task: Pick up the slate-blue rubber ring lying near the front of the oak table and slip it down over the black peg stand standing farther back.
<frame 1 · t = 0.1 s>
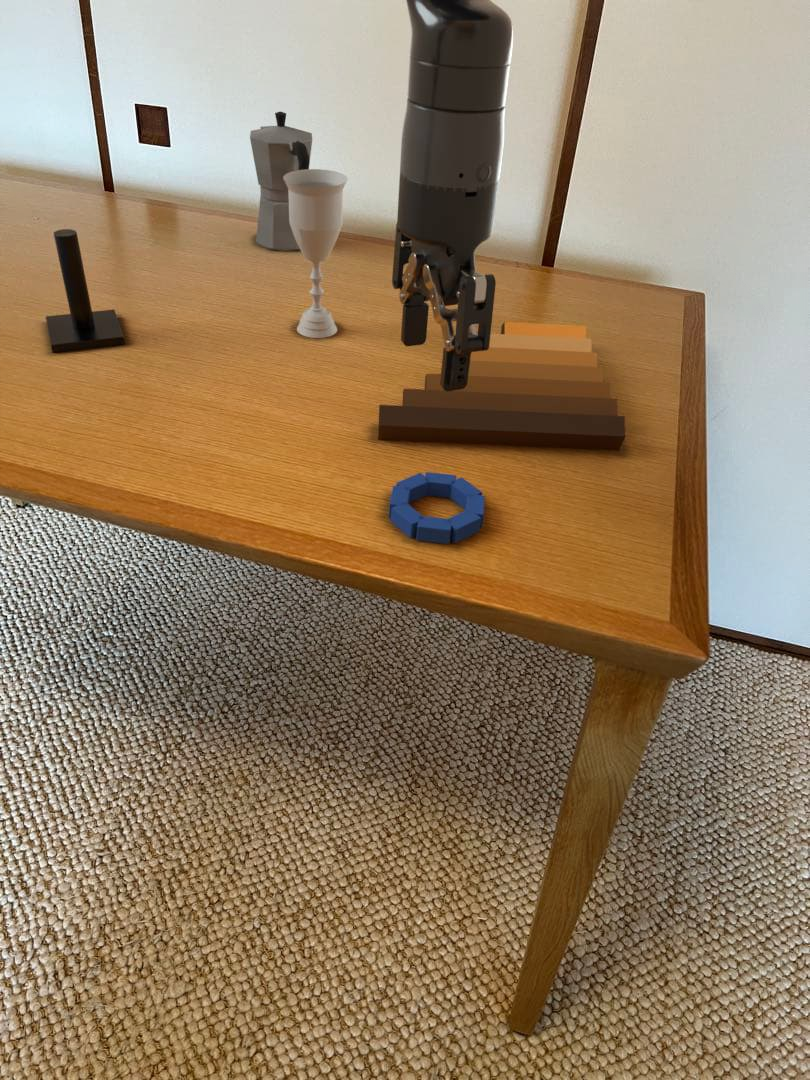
hand: (432, 365, 71), 12 cm above the table, tool pointing down, fingers open, 8 cm apart
chalice: (317, 330, 102), on the table
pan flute: (488, 390, 93), on the table
ring: (436, 513, 74), on the table
coffeepot: (287, 244, 125), on the table
black peg stand: (85, 334, 97), on the table
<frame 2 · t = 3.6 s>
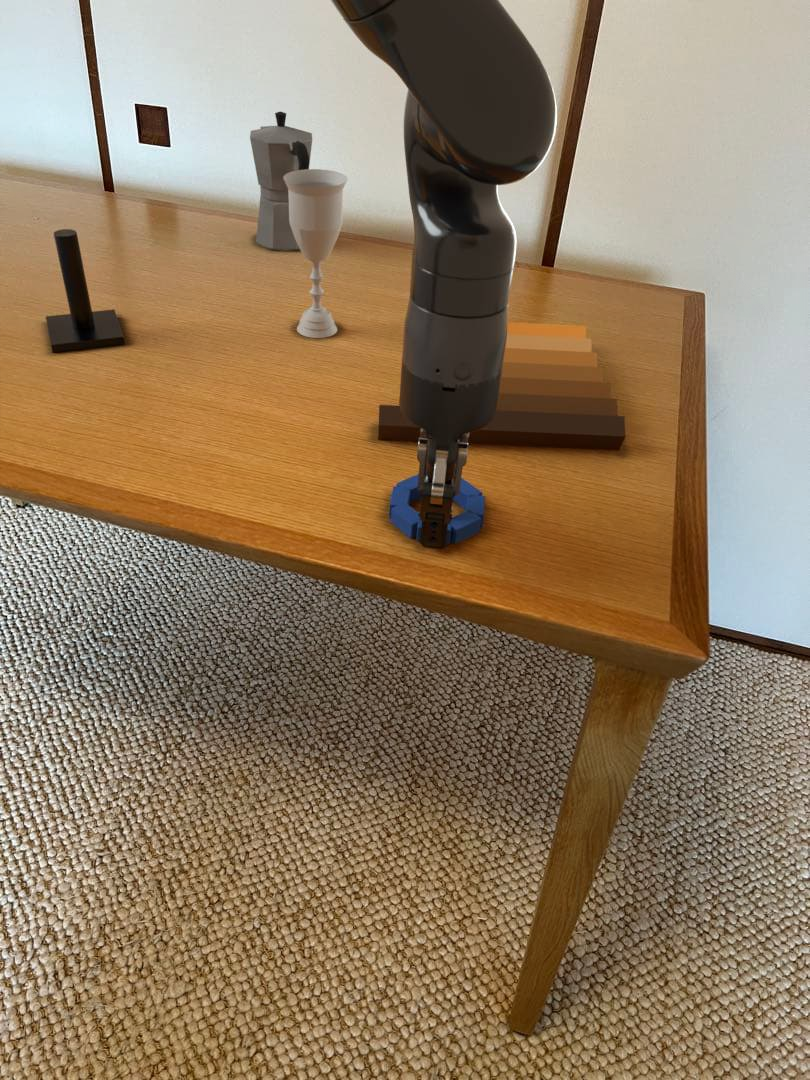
hand: (433, 537, 71), 0 cm above the table, tool pointing down, fingers closed on ring, 1 cm apart
ring: (436, 514, 74), on the table, touching gripper
everything else where it was.
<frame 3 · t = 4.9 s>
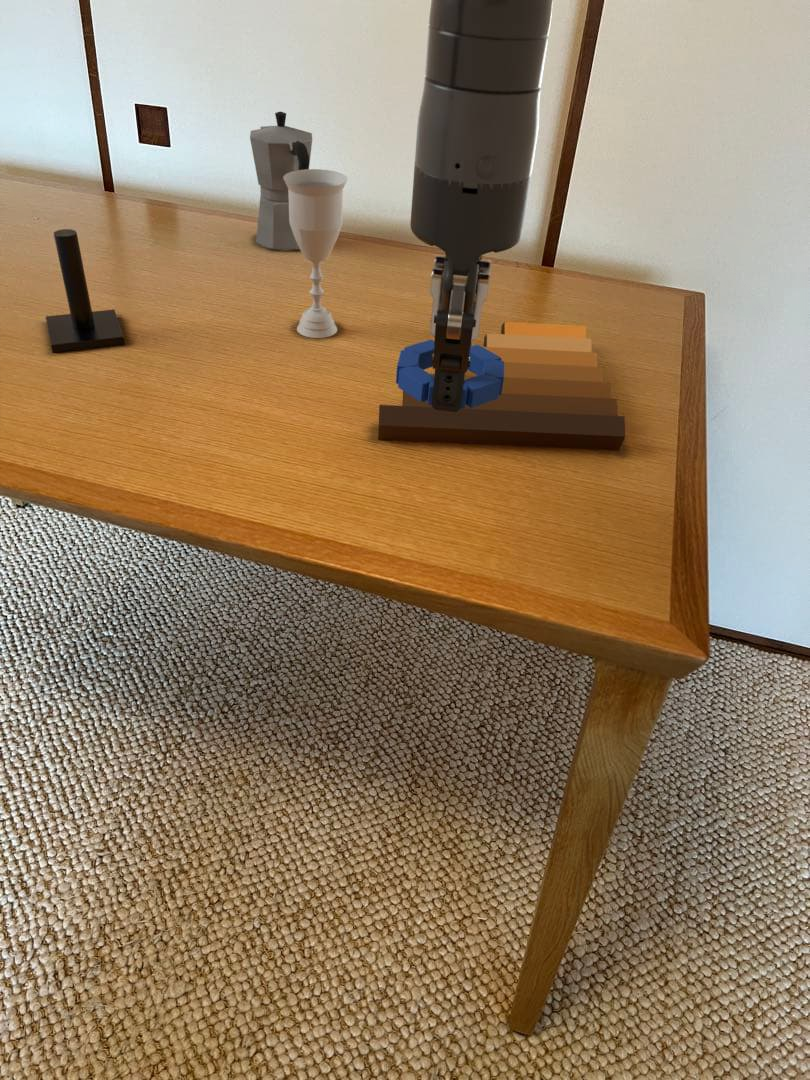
hand: (446, 401, 63), 14 cm above the table, tool pointing down, fingers closed on ring
ring: (449, 381, 65), point 13 cm above the table, touching gripper
everything else where it was.
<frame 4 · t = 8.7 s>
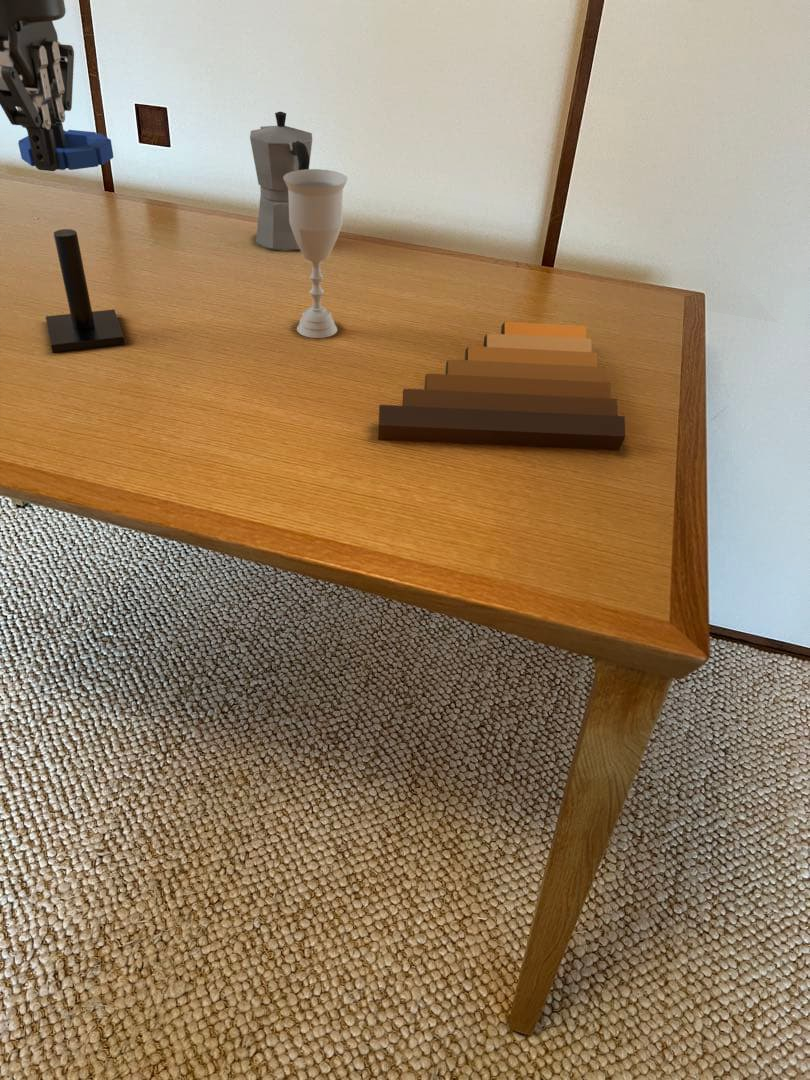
hand: (52, 165, 81), 20 cm above the table, tool pointing down, fingers closed on ring, 1 cm apart
ring: (68, 157, 83), point 20 cm above the table, touching gripper
everything else where it was.
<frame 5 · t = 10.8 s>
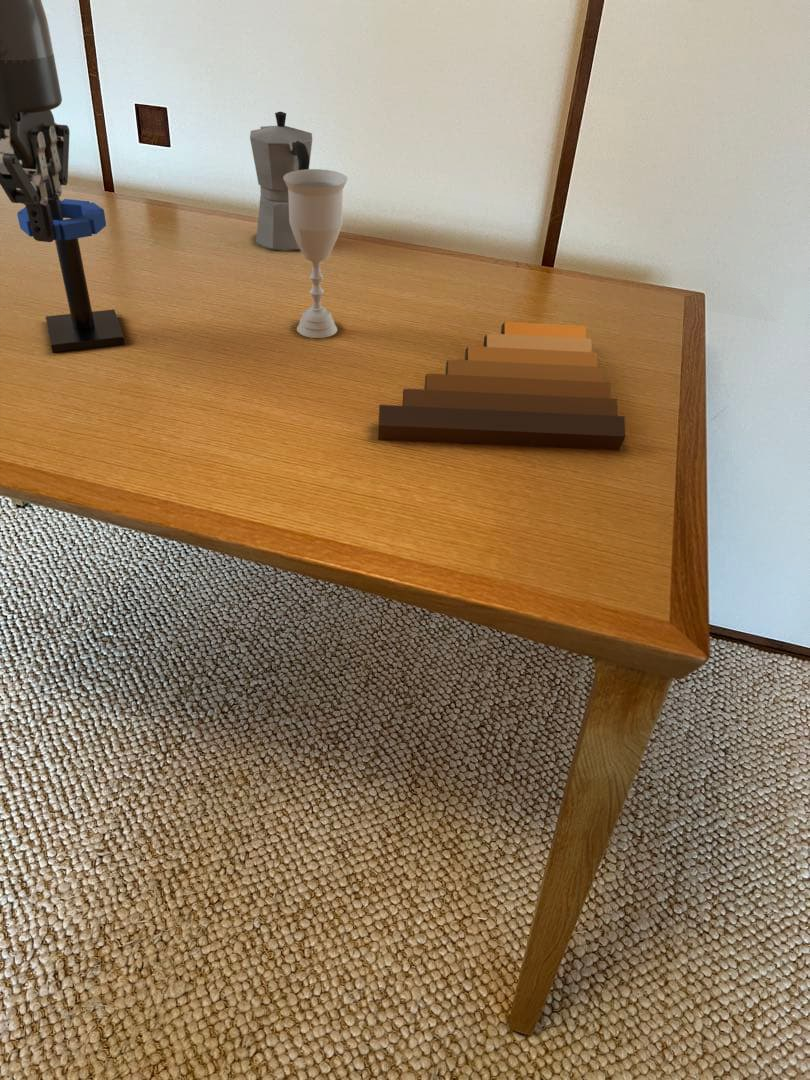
hand: (49, 236, 86), 13 cm above the table, tool pointing down, fingers closed on ring
ring: (64, 226, 89), point 13 cm above the table, touching gripper
everything else where it was.
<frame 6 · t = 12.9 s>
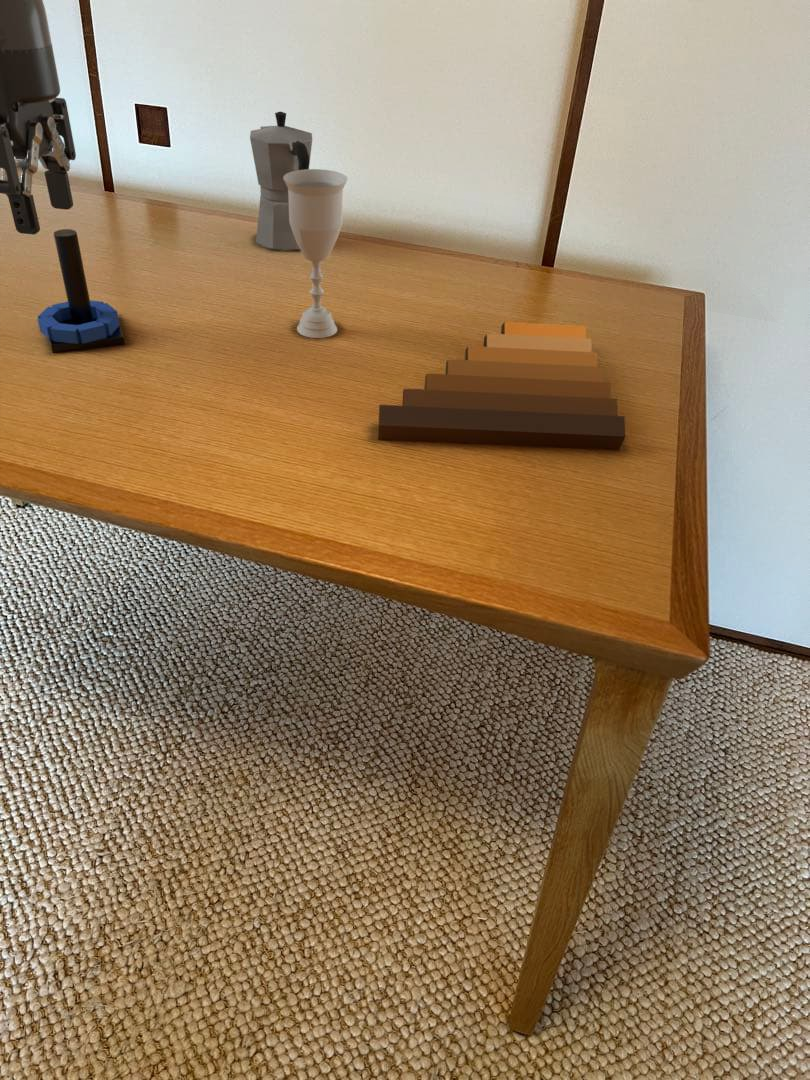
hand: (46, 219, 85), 14 cm above the table, tool pointing down, fingers open, 7 cm apart
ring: (80, 327, 96), point 1 cm above the table, touching black peg stand
everything else where it was.
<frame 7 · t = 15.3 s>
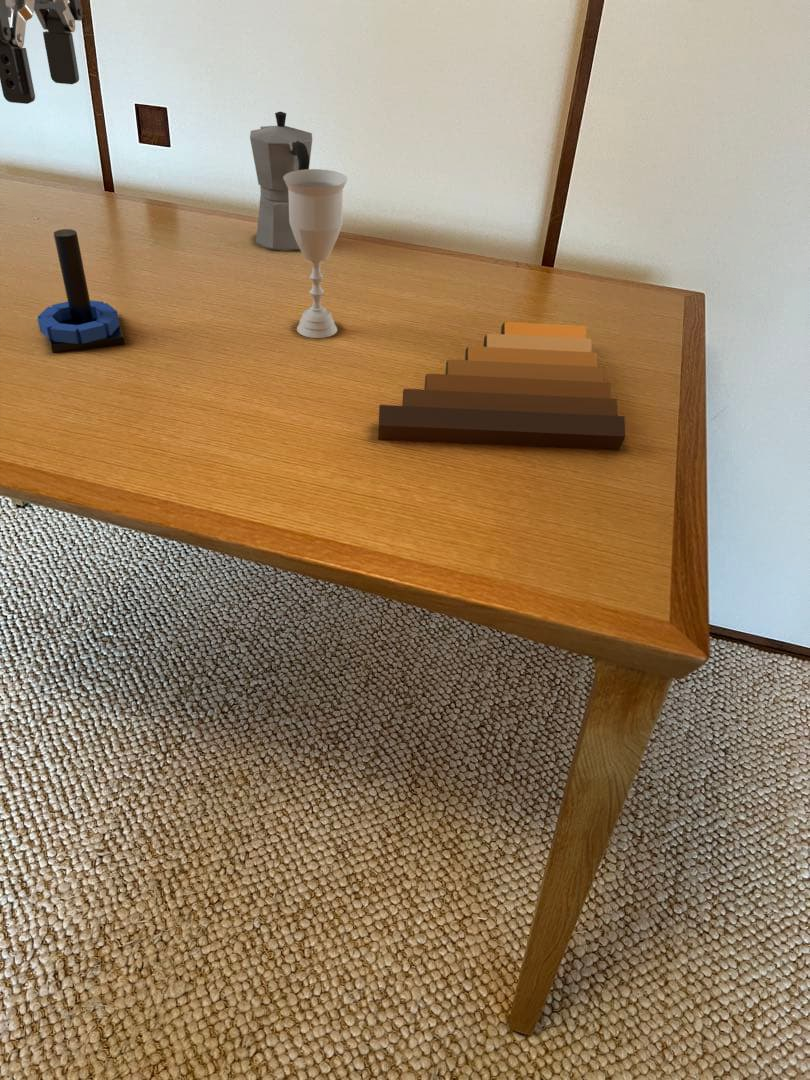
hand: (44, 92, 67), 29 cm above the table, tool pointing down, fingers open, 8 cm apart
nothing on the table moved.
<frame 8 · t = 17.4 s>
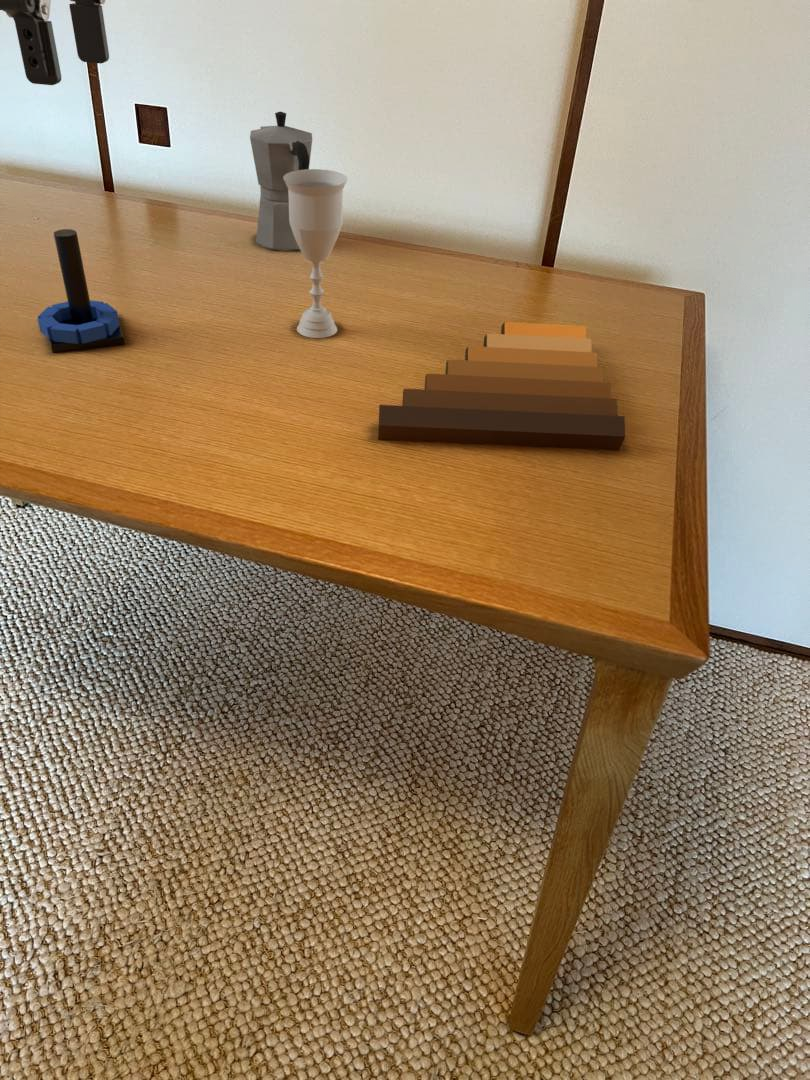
hand: (71, 72, 59), 32 cm above the table, tool pointing down, fingers open, 8 cm apart
nothing on the table moved.
at the end: ring 0.4 cm off-centre on the black peg stand, point 1.0 cm above the black peg stand's base; the gripper is holding nothing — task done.
